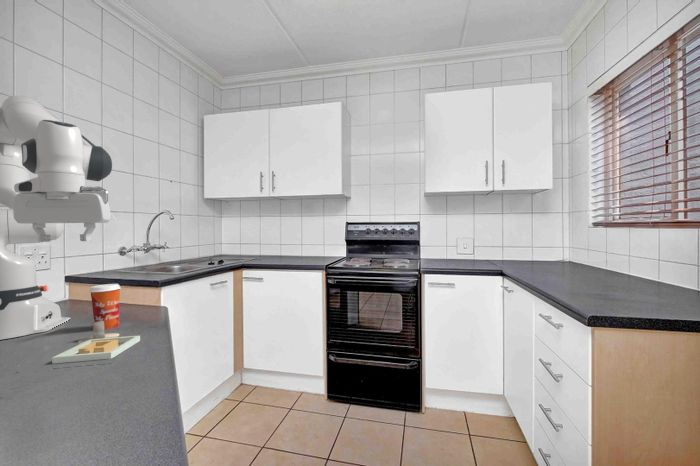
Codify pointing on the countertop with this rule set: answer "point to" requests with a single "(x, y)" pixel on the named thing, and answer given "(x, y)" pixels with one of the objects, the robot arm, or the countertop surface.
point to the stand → (99, 332)
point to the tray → (70, 357)
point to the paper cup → (106, 304)
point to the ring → (99, 347)
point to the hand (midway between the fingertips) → (65, 241)
